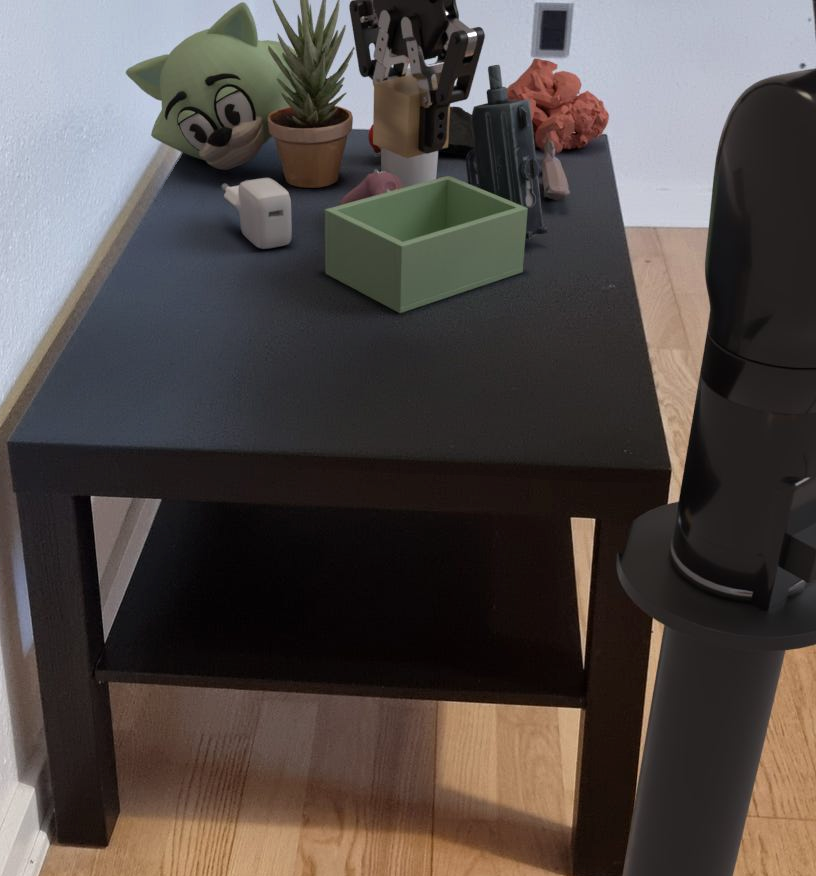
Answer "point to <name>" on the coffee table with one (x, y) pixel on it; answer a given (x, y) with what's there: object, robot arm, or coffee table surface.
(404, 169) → the mug
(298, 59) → the potted plant
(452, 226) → the bin
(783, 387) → the robot arm
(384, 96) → the block
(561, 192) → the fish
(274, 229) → the power adapter
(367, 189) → the pink irregular tapered piece
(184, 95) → the toy
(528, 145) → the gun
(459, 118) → the rock
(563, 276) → the coffee table surface
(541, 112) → the anatomical model
